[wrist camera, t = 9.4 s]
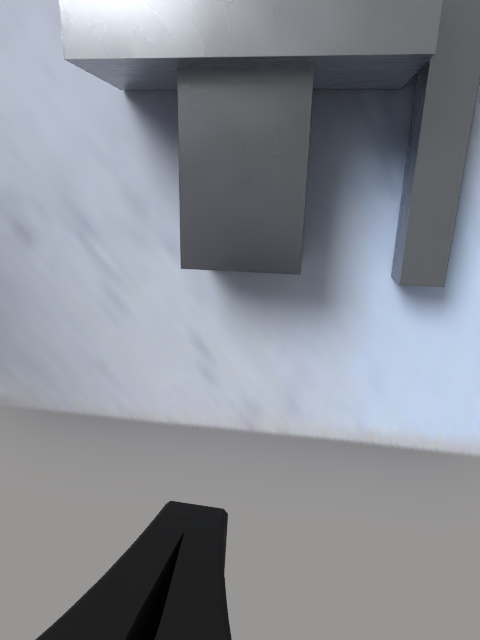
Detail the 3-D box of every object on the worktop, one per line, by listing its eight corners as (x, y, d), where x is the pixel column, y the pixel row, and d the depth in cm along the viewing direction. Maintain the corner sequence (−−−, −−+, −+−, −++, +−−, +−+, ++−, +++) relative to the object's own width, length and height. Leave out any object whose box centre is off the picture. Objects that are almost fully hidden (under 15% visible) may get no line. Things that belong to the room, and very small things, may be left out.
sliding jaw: (129, 252, 18) (82, 269, 14) (115, -9, 15) (51, -77, 11) (379, 263, 16) (403, 286, 13) (413, -20, 14) (456, -100, 10)
